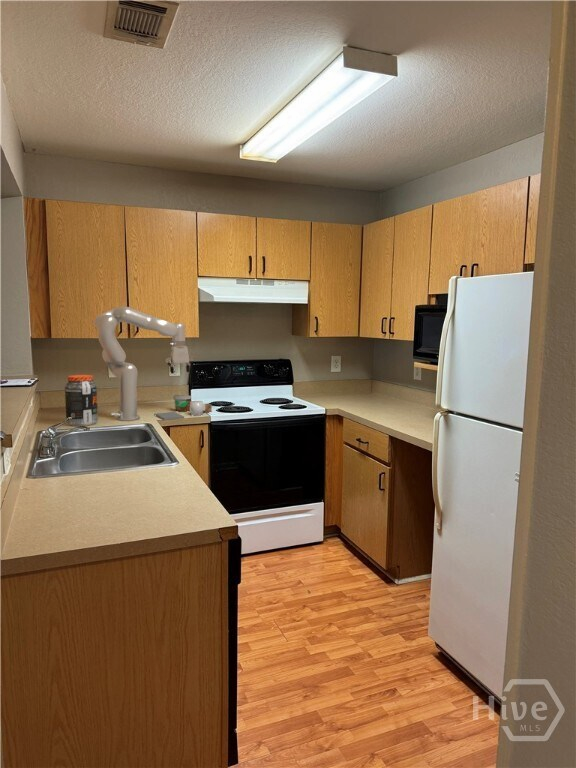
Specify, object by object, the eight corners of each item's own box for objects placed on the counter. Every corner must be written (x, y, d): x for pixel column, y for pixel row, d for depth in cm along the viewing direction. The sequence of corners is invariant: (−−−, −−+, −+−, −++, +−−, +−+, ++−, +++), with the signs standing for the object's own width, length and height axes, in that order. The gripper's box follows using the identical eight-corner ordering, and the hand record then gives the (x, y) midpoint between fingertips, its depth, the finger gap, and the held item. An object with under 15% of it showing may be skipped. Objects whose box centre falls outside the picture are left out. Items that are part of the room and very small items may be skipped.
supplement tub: (100, 425, 272) (98, 376, 269) (68, 427, 264) (66, 378, 261) (94, 419, 286) (93, 373, 283) (64, 422, 278) (62, 374, 275)
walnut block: (205, 413, 309) (205, 405, 308) (199, 412, 312) (199, 404, 312) (211, 412, 313) (211, 404, 312) (206, 411, 316) (206, 403, 315)
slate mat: (163, 420, 288) (163, 418, 288) (154, 415, 301) (154, 413, 301) (184, 418, 294) (184, 416, 294) (173, 413, 307) (173, 411, 307)
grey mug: (193, 416, 299) (193, 403, 298) (189, 414, 305) (188, 401, 304) (207, 415, 304) (207, 402, 303) (202, 413, 310) (202, 400, 308)
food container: (169, 411, 315) (168, 395, 314) (175, 409, 320) (175, 393, 319) (185, 413, 309) (184, 396, 308) (191, 411, 315) (191, 395, 313)
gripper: (166, 345, 298) (168, 374, 300) (195, 343, 307) (196, 372, 309) (162, 344, 304) (164, 373, 307) (190, 343, 313) (191, 371, 316)
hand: (180, 372), depth 308 cm, fingers open, 9 cm apart
